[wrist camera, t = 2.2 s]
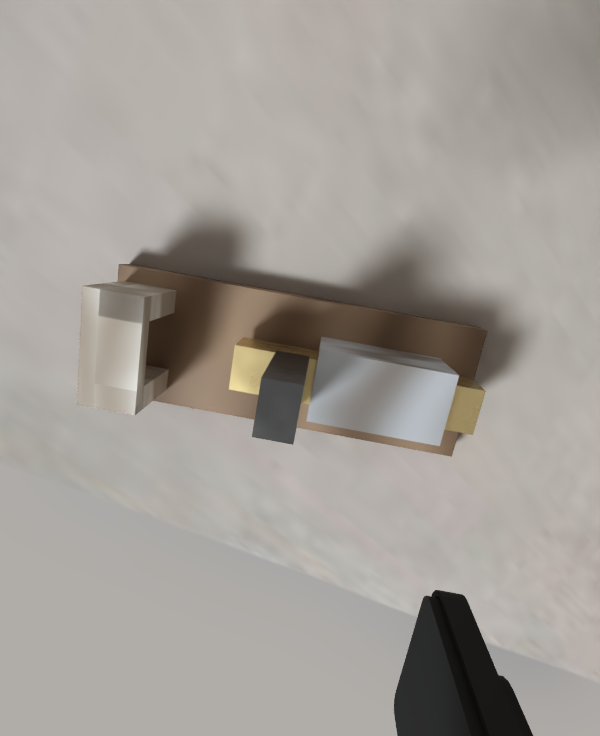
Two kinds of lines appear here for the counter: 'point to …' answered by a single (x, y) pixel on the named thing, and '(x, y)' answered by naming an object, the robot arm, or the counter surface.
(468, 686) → the robot arm
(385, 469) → the counter surface
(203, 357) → the sliding bolt latch
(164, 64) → the counter surface
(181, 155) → the counter surface
